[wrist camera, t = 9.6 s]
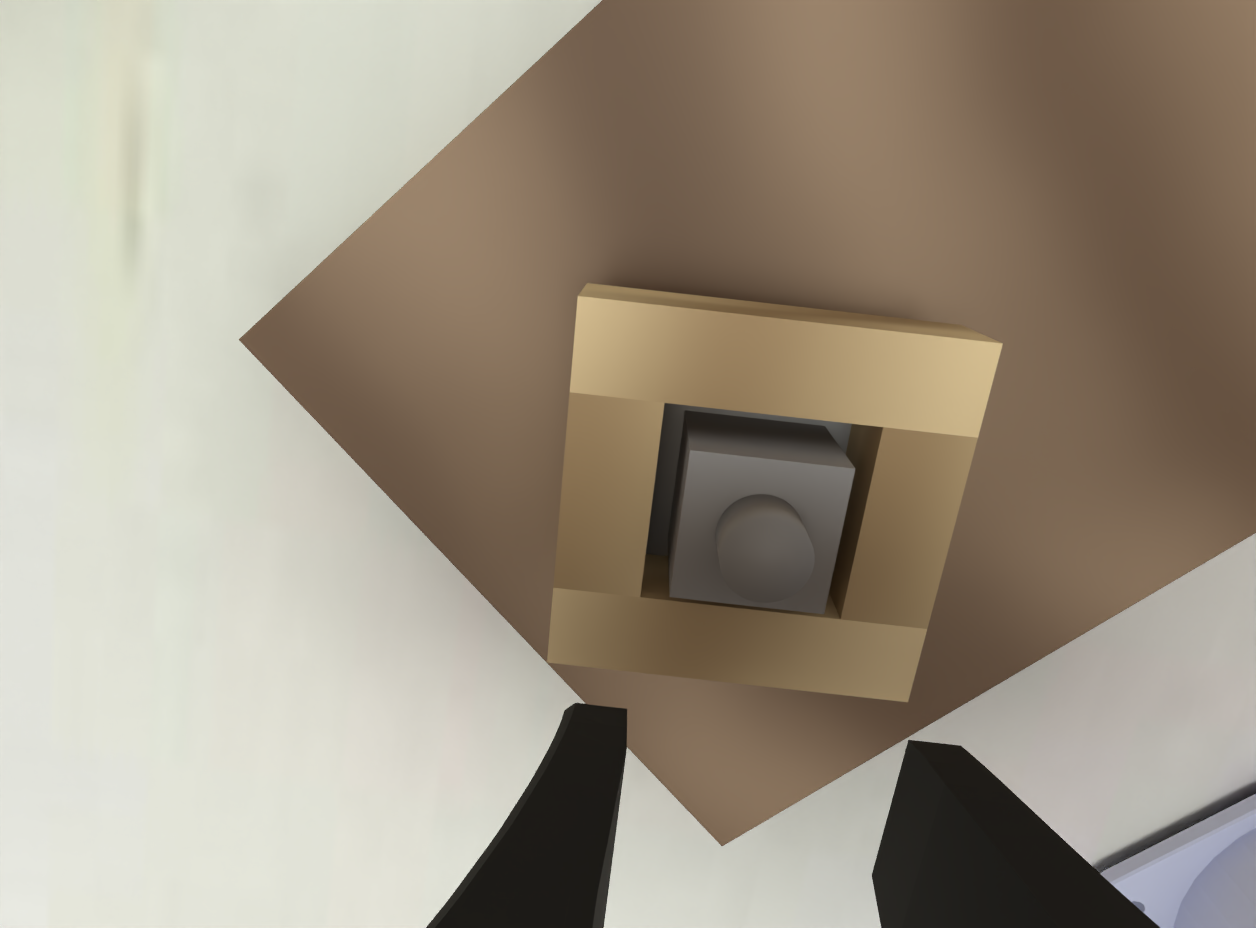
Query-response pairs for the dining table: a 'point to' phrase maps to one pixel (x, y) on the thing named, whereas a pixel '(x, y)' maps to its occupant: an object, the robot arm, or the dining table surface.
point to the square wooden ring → (776, 385)
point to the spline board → (831, 280)
